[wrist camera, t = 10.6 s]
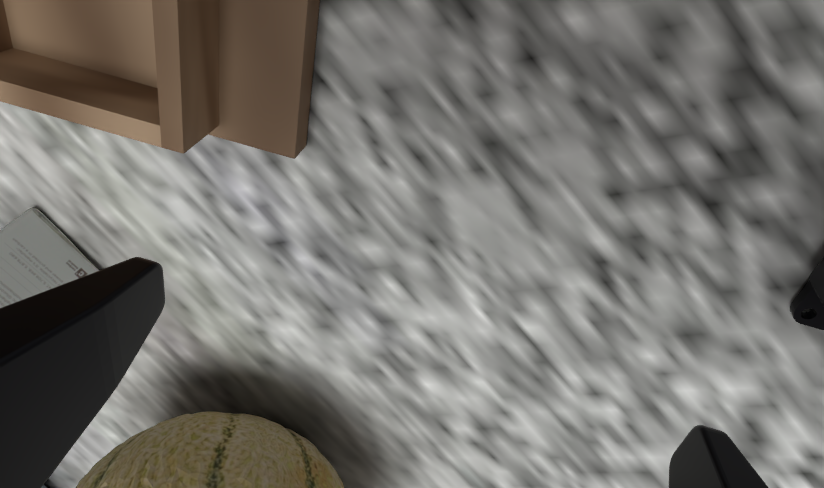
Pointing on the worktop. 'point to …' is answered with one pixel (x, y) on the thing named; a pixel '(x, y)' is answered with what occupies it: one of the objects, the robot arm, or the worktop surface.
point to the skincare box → (36, 258)
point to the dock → (165, 67)
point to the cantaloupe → (214, 456)
